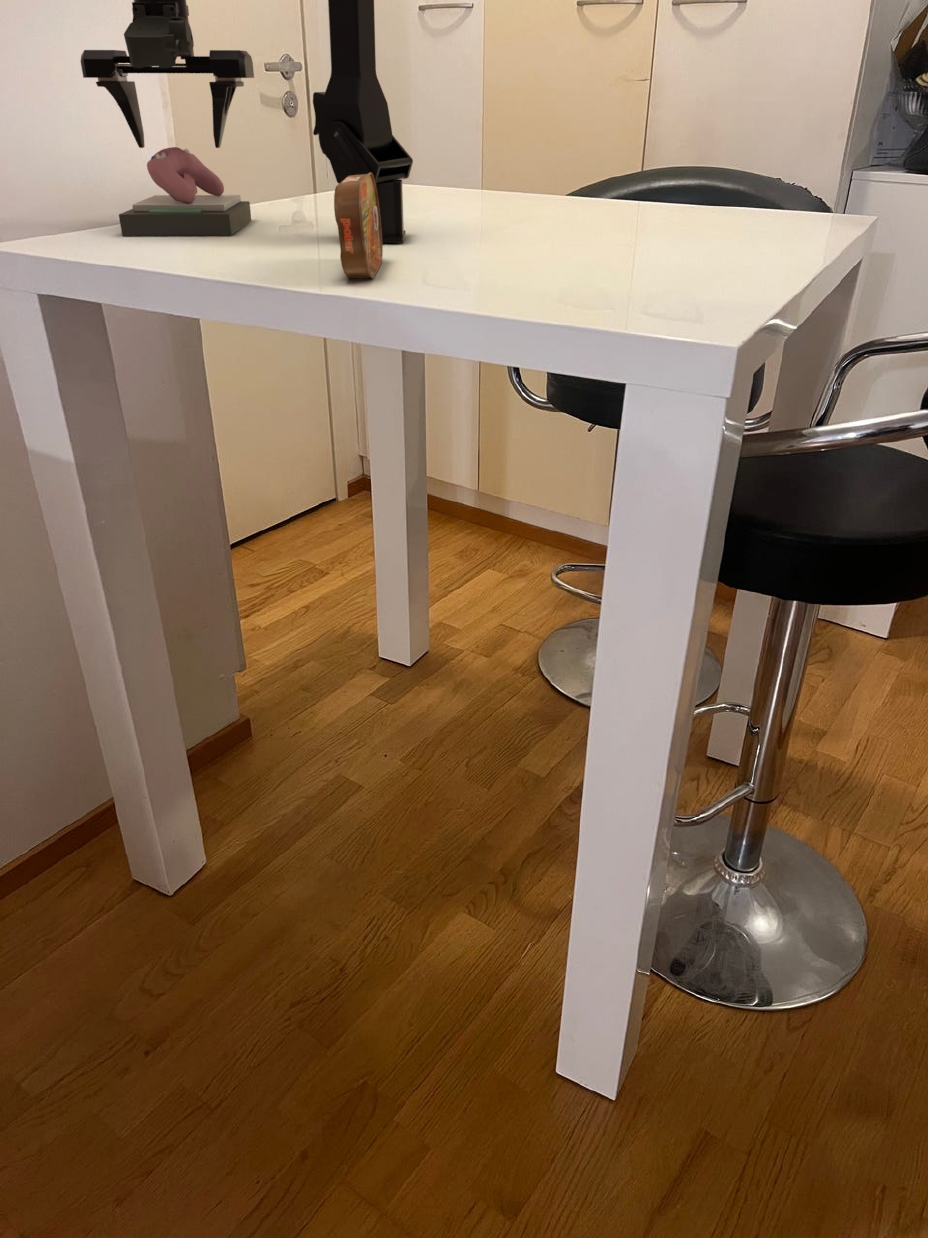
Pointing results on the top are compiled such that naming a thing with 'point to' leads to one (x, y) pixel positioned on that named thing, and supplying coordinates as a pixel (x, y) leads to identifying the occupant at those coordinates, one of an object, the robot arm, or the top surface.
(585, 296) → the top surface
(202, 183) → the video game controller
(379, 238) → the tin
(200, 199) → the scale
